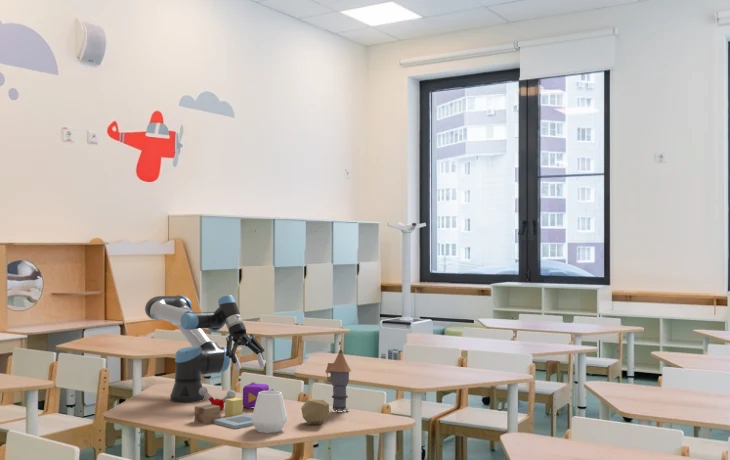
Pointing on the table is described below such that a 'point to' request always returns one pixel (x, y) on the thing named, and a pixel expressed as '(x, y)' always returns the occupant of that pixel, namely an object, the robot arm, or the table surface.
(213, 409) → the walnut block
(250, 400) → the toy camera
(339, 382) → the model tower
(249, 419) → the plate
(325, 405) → the low-poly potato
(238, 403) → the mustard block
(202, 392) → the molecular model
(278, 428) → the white faceted vase
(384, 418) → the table surface
